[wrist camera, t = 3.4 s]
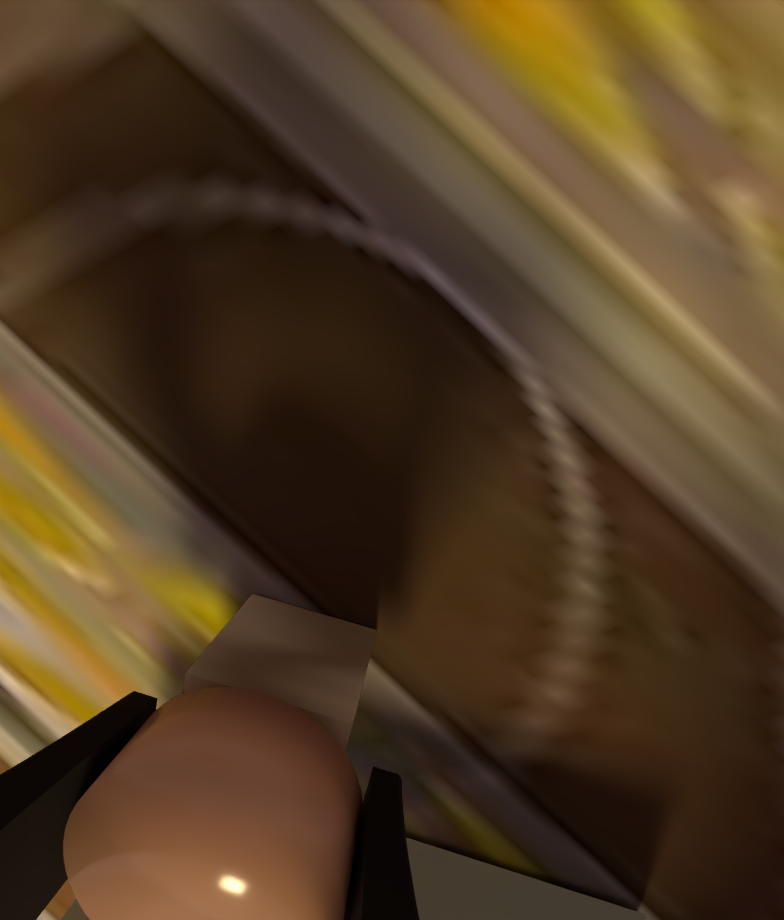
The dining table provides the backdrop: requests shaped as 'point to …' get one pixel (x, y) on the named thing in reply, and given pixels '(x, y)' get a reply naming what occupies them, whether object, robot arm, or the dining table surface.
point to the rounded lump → (218, 817)
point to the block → (290, 661)
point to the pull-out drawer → (482, 892)
